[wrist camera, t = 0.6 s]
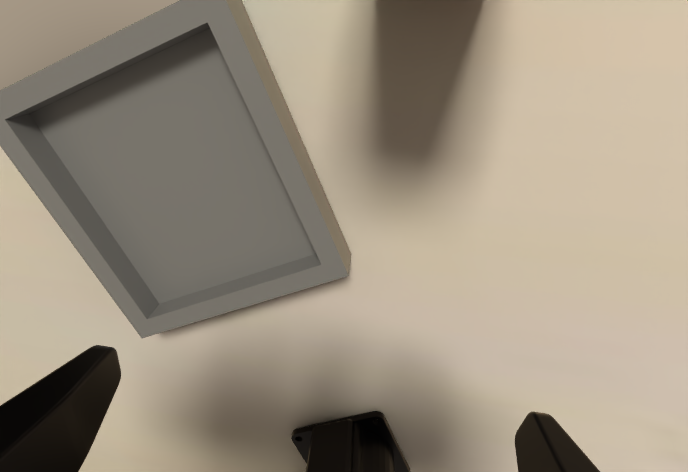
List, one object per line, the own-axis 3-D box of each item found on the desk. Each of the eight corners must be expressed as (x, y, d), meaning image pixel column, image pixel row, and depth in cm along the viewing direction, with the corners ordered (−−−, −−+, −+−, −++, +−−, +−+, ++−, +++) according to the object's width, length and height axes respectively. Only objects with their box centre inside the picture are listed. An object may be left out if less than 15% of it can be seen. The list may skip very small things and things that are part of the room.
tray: (351, 253, 22) (349, 275, 20) (160, 313, 25) (141, 338, 23) (235, -13, 17) (217, -19, 15) (11, 97, 20) (-30, 105, 18)
